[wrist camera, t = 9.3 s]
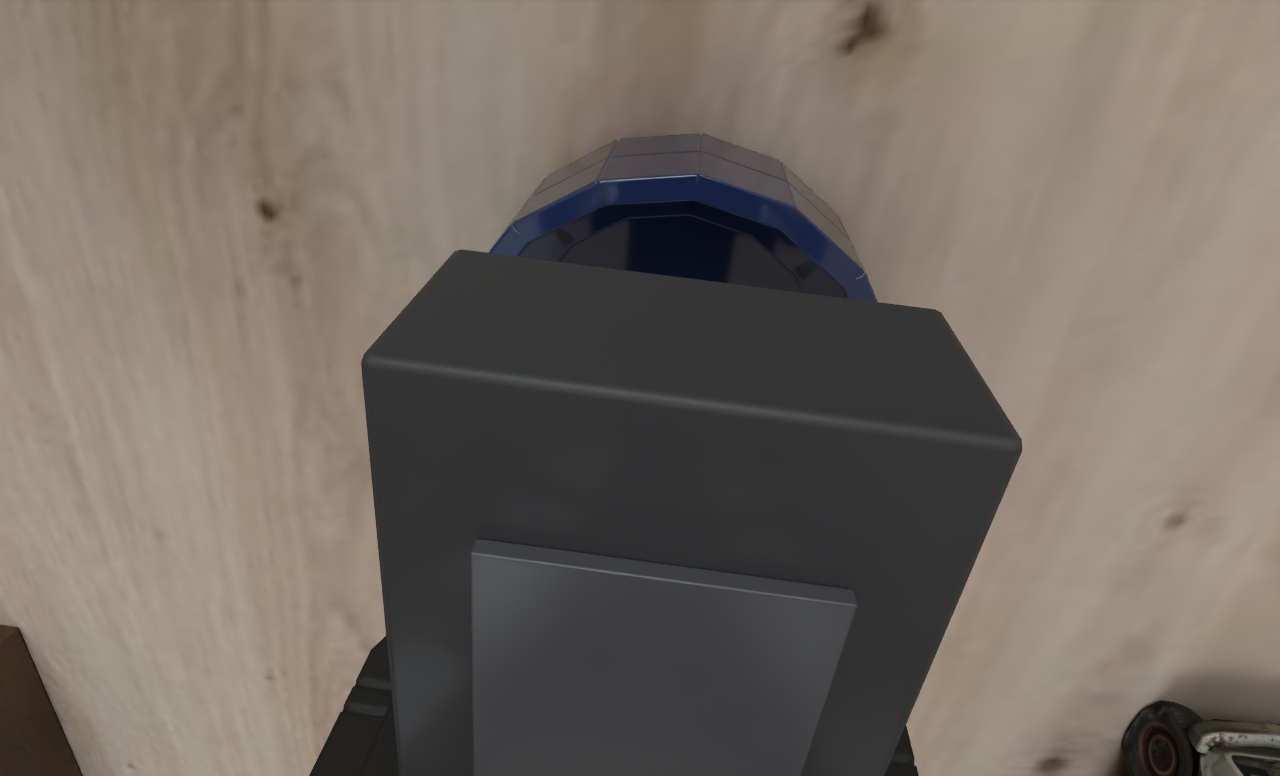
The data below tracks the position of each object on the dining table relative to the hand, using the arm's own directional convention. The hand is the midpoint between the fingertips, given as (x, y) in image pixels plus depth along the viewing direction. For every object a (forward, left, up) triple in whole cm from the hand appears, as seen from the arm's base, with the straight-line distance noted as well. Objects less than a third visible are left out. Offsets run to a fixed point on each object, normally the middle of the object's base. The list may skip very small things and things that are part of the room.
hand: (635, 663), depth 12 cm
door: (0, 0, +1) cm, 1 cm away
